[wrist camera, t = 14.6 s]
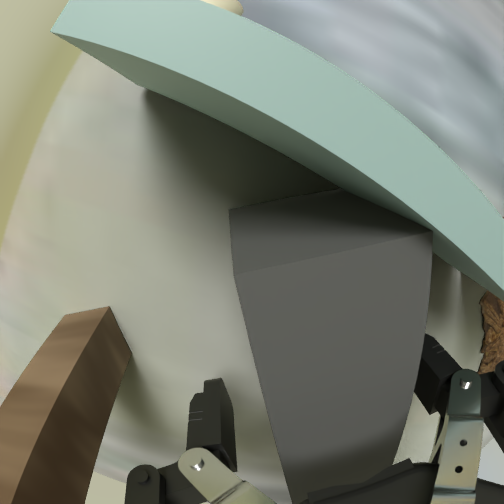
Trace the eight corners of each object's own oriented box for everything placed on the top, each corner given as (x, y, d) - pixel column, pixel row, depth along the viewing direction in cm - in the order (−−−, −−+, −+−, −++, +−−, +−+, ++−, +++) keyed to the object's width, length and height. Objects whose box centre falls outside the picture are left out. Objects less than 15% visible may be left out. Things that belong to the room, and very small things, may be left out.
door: (446, 262, 14) (534, 325, 8) (136, 84, 10) (50, 31, 4) (471, 216, 14) (566, 261, 7) (173, 24, 10) (129, -73, 3)
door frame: (491, 257, 15) (624, 350, 4) (88, 358, 15) (14, 539, 4) (493, 213, 14) (646, 292, 3) (64, 315, 14) (-47, 496, 3)
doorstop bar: (228, 209, 13) (233, 274, 7) (339, 188, 13) (432, 230, 7) (279, 435, 19) (297, 519, 12) (348, 418, 19) (380, 496, 12)
